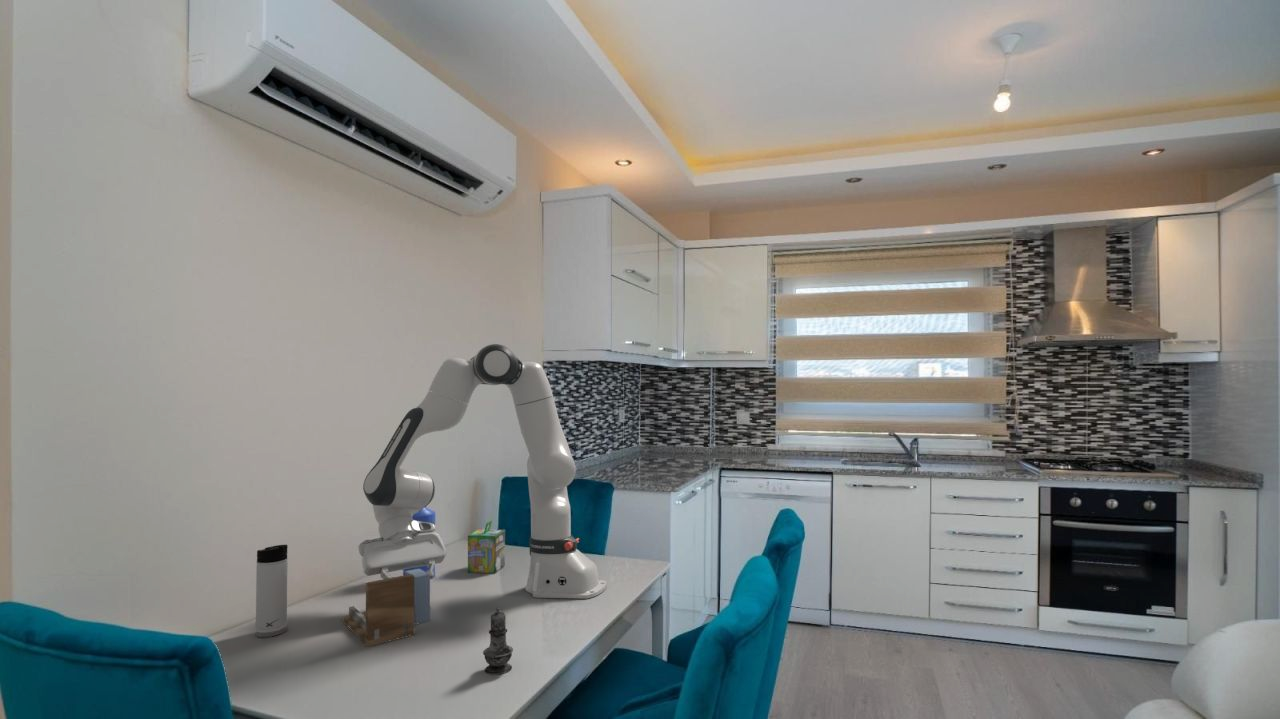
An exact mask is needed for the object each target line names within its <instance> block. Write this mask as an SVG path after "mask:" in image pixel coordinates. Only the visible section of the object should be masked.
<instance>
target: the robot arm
mask: <svg viewBox="0 0 1280 719" xmlns="http://www.w3.org/2000/svg"><path fill="white" fill-rule="evenodd" d="M480 385H487V386H488V385H490V386H499V385H505V386H506V387H507V388H508V389H509V391H510V393H511V397H512V401H513V405H514V408H515V413H516V416H517V417H516V418H517V420H518V425H519V429H520V432H521V435H522V438H523V440H524V442H525V446H526V448H527V451H528V454H529V456H528V457H527V461H526V467H527V469H526V470H527V471H526V472H527V473H526V474H527V484H528V494H529V495H528V496H529V502H530V532H531V533H530V537H529V556H530V560H529V562H530V563H529V571H528V577H527V580H526V584H525V590H526V592H528V593H530V594H531V595H532V597H533V598H538V599H539V598H540V599H541V598H545V599H548V598H549V599H581V600H582V599H590V598H593V597H596V596H598V595H600V594H602V593H603V592H604V591H605V590H606V589H607V586H608V585H607V582H606V580H602V579H599V578H600V577H599V572H598V567H597V565H596V563H595V562H593V560H591V559H590V558H588V557H587V556H586V555H585V554H583V553H582V552H581V551H580V550H579V549H577V548H578V543H580V541H579V540H580V538H579V537H577V538H575V537H574V536H573V535H572V534H571V531H572V530H571V525H572V524H571V523H572V522H571V519H572V518H571V504H570V500H569V495H568V486H569V485H571V483H572V482H573V480H574V479H575V477H576V472H577V466H576V464H575V461H574V458H573V456H572V452H571V449H570V446H569V444H568V441H567V438H566V435H565V433H564V430H563V428H562V425H561V422H560V419H559V414H558V411H557V410H558V409H557V407H556V402H555V399H554V395H553V394H554V393H553V391H552V388H551V385H550V381H549V379H548V376H547V374H546V371H545V370H544V368H543V366H542V365H541V364H540V363H538V362H535V361H531V360H530V361H528V360H527V361H523V362H522V361H521V359H519V358H518V357H517V355H516V354H515V353H514V352H513V351H512V350H511V349H509V347H507V346H505V345H502V344H499V343H498V344H497V343H492V344H488V345H485V346H484V347H482V348H480V349H479V350H478V351H477V353H476V354H475V355H474V356H473V357H472V358H470V359H464V358H461V357H449V358H448V359H446V360H445V361H443V363H442V364H441V366H440V368H438V370H437V372H436V374H435V376H434V378H433V380H432V381H431V384H430V387H429V388H428V392H427V394H426V395H425V397H424V398H423V399H422V401H421V402H420V403H419V405H417V406H416V407H414V408H412V409H410V410H409V411H408V412H407V413H406V414H405V416H403V418H402V419H401V422H400V423H399V424H398V426H397V428H396V430H395V431H394V433H393V435H392V436H391V438H390V440H389V442H388V444H387V445H386V447H385V448H384V450H383V452H382V454H381V456H380V458H379V459H378V461H377V462H376V463H375V464H374V466H373V467H372V468H371V470H369V472H368V473H367V475H366V477H365V478H364V481H363V485H362V487H363V488H362V489H363V492H364V495H365V497H366V499H367V501H368V502H369V503H370V504H371V505H372V509H373V514H374V517H375V521H376V522H377V523H378V534H379V537H377V538H372V539H365V540H363V541H362V542H360V544H359V545H358V552H359V554H360V556H361V558H362V560H361V561H362V562H361V563H362V570H363V573H364V574H365V575H366V576H375V575H380V578H381V579H382V580H383V579H388V578H393V577H394V576H391V575H390V574H389V573H391V572H398V571H403V570H404V569H409V568H415V567H420V566H426V565H427V568H430V569H429V570H428V571H427V572H426V573H428V574H430V580H433V579H434V578H435V577H434V573H433V568H434V565H435V566H436V564H441V563H442V562H444V559H445V558H446V556H447V550H446V547H445V544H444V541H443V540H442V537H441V536H440V534H439V533H438V532H436V530H435V529H436V526H435V525H436V524H435V525H434V524H432V523H426V522H420V521H415V520H413V518H412V516H413V515H414V514H416V513H418V512H420V511H421V510H422V509H423V508H425V507H427V506H428V505H430V503H431V502H432V501H433V499H434V496H435V493H436V492H435V490H436V487H435V482H434V480H433V478H432V477H431V475H429V474H427V473H424V472H420V471H419V472H418V471H414V470H408V469H403V468H401V466H402V465H403V463H404V461H405V459H406V458H407V455H408V453H409V452H410V451H411V448H412V447H413V445H414V443H415V442H417V440H418V439H419V438H421V437H422V436H424V435H426V434H430V433H433V432H434V433H435V432H443V431H446V430H449V429H452V428H454V427H456V426H457V425H458V424H459V423H460V422H461V421H462V419H463V418H464V415H465V414H466V411H467V408H468V406H469V404H470V401H471V398H472V395H473V393H474V391H475V390H476V388H477V387H478V386H480ZM433 577H434V578H433Z"/></svg>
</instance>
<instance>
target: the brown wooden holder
mask: <svg viewBox="0 0 1280 719" xmlns="http://www.w3.org/2000/svg"><path fill="white" fill-rule="evenodd" d="M392 577H393V578H388V579H383V578H382V579H378V580H374V581H368V582H365V612H361V611H360V610H358V609H357V608H356V607H355V606H353V605H352V606H349V607H348V615H345V616H343V617H342V618H343V619H342V621H344V622H345V623H346V624H347V625H348V626H349V627H350V628H351V629H352V630H353V631H354V632H355V633H356V634H357V635H356V634H355V633H354V632H353V631H352V630H351V629H350V628H349V627H348V626H347V625H346V624H345V623H344V622H343V623H344V624H345V625H346V626H347V627H348V628H349V629H350V630H351V631H352V632H353V633H354V634H355V635H356V636H357V637H358V638H359V639H360V640H361V641H362V642H363V643H364V644H365V643H366V644H365V645H366V646H367V647H373V646H376V645H379V644H378V643H380V644H384V643H387V642H386V641H388V642H390V641H389V640H392V641H395V640H394V639H396V640H398V639H397V638H400V639H403V638H402V637H404V638H407V637H406V636H408V637H410V636H409V635H412V636H415V624H414V575H412V574H409V575H404V576H403V575H399V576H392ZM383 642H384V643H383ZM375 644H376V645H375Z"/></svg>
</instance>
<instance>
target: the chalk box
mask: <svg viewBox="0 0 1280 719" xmlns="http://www.w3.org/2000/svg"><path fill="white" fill-rule="evenodd" d="M492 522H493V520H492V519H491V520H489V521H487V522H486V524H485V528H477V529H476V530H474V531H472V532H471V533H470V534H469V535H467V573H472V574H473V573H477V574H480V573H481V574H496V573H497V572H498V571H500V570H502V568H504V567H505V565H506V562H505V561H506V558H505V556H506V553H505V552H506V549H505V548H506V529H496V528H495V529H494V528H493V529H492Z"/></svg>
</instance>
